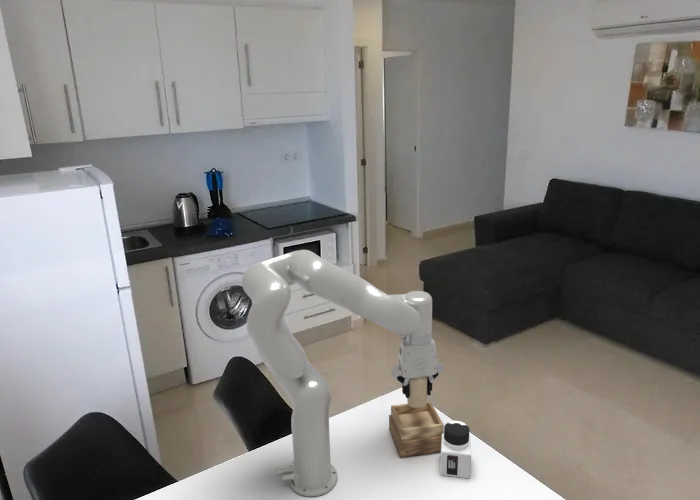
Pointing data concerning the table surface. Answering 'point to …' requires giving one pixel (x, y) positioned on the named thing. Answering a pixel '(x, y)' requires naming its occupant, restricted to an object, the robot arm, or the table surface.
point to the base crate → (414, 444)
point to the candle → (417, 392)
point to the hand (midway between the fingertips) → (417, 393)
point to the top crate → (416, 422)
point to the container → (456, 450)
